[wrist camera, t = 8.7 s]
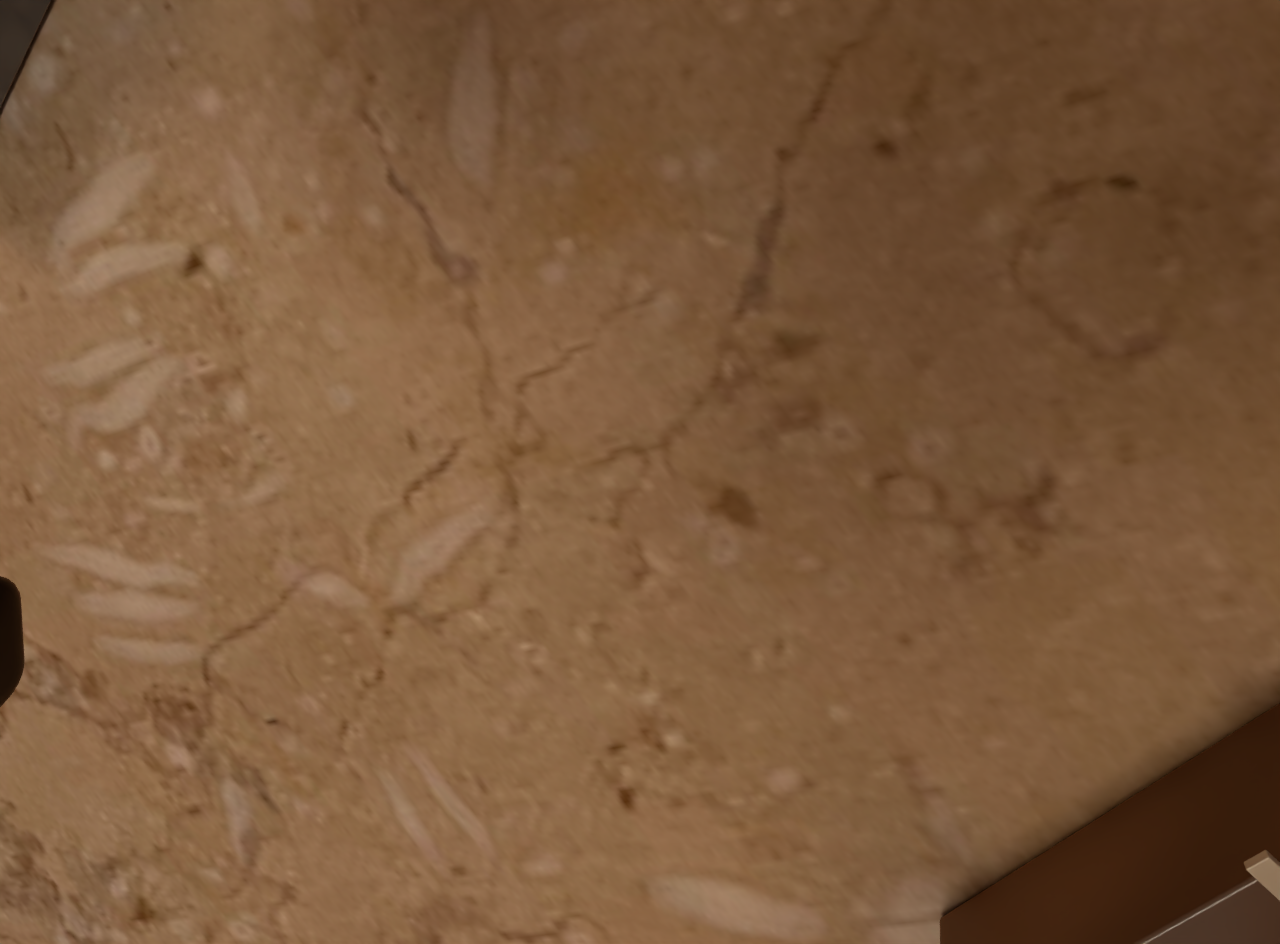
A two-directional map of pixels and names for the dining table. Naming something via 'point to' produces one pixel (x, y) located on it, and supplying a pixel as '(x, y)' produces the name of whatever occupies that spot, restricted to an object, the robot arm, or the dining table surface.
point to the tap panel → (1155, 862)
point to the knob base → (17, 36)
